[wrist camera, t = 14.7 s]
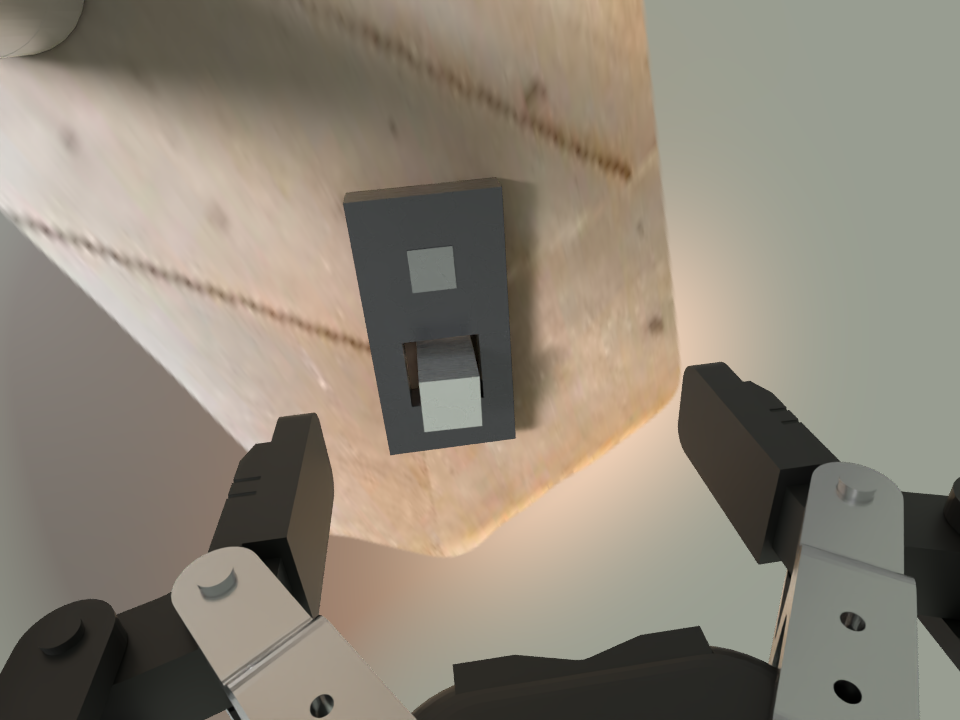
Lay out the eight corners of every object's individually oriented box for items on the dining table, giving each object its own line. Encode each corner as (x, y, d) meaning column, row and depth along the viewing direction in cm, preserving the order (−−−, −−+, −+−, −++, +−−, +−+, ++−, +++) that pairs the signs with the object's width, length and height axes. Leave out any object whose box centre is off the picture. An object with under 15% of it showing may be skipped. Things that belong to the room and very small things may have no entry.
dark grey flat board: (390, 436, 50) (390, 455, 48) (346, 193, 40) (342, 203, 38) (510, 420, 50) (515, 439, 48) (496, 177, 40) (502, 187, 38)
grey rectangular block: (420, 379, 48) (424, 432, 42) (415, 334, 46) (418, 382, 40) (471, 374, 48) (482, 425, 42) (468, 329, 46) (479, 376, 40)
